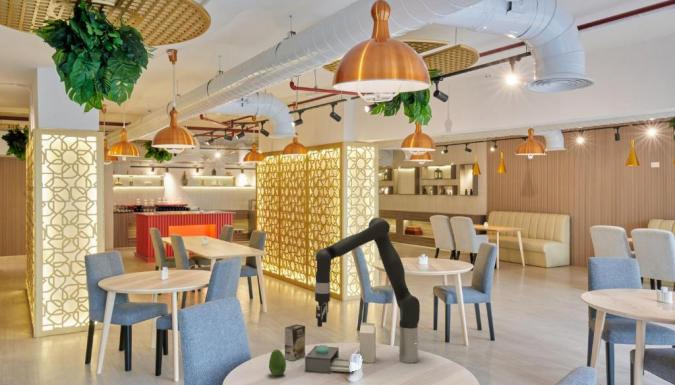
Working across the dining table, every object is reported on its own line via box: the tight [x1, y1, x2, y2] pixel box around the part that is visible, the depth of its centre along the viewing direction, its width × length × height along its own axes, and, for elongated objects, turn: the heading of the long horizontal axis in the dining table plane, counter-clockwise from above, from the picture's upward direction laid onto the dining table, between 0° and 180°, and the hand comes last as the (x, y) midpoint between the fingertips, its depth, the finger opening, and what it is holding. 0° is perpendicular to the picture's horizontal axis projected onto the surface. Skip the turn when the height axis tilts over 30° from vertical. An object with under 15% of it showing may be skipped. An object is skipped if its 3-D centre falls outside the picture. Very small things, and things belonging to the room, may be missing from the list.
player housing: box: [304, 345, 340, 375], centre depth 259 cm, size 12×18×7 cm, turn 166°
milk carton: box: [359, 322, 377, 364], centre depth 268 cm, size 7×7×19 cm
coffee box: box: [284, 324, 306, 362], centre depth 272 cm, size 9×6×16 cm
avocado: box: [268, 349, 287, 377], centre depth 247 cm, size 8×8×12 cm
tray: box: [330, 349, 360, 373], centre depth 257 cm, size 12×17×6 cm
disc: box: [316, 345, 329, 354], centre depth 259 cm, size 6×6×2 cm
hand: (322, 324), depth 259 cm, fingers open, 8 cm apart
